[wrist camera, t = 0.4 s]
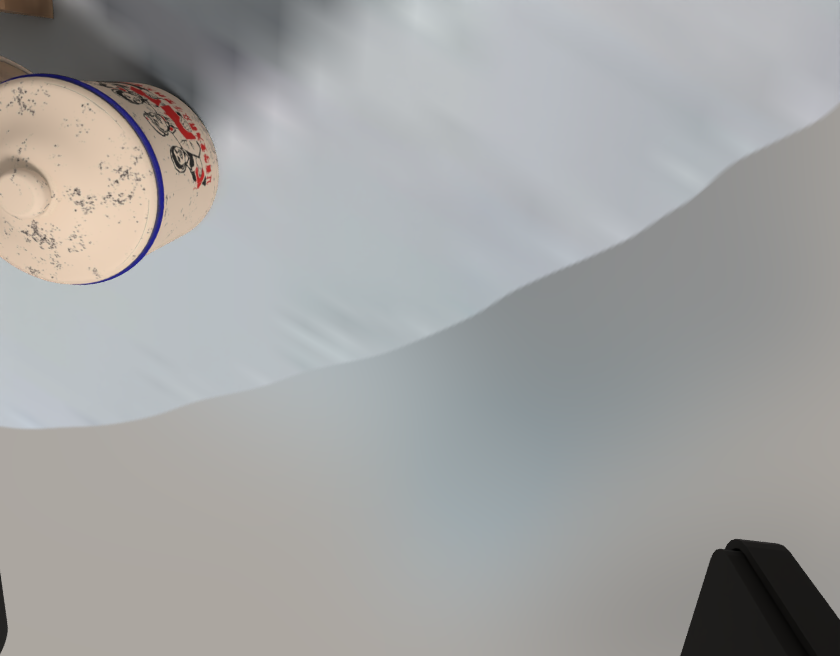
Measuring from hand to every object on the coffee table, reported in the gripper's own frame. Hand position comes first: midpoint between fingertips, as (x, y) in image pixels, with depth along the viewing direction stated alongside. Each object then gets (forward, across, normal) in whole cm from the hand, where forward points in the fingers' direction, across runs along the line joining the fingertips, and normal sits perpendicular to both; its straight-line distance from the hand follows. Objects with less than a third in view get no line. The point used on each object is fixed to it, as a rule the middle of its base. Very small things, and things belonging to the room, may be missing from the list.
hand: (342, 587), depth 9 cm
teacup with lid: (+30, +17, -2) cm, 35 cm away
